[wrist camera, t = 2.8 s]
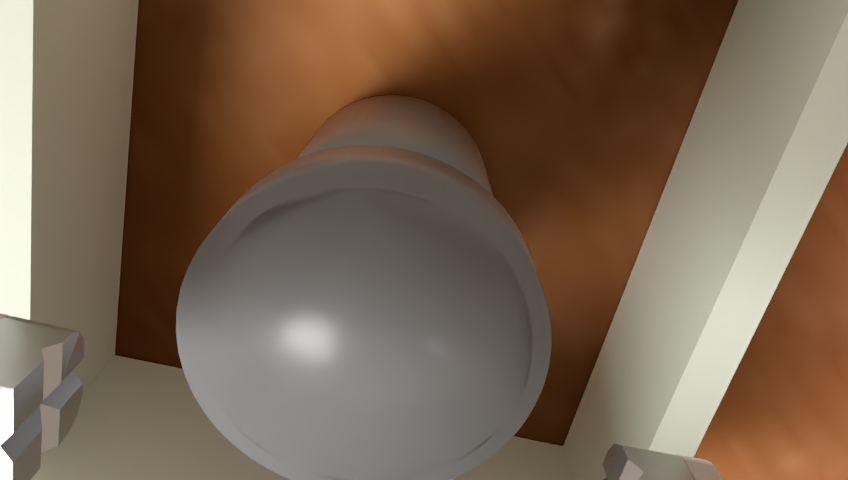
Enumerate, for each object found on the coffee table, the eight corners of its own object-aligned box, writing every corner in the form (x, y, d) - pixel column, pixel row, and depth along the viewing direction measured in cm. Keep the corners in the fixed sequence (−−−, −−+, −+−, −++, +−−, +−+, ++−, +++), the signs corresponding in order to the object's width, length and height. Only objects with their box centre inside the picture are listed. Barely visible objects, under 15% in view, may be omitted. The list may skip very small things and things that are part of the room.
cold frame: (103, -248, 16) (-496, -653, 6) (808, -57, 17) (1359, -103, 7) (76, 384, 22) (-215, 719, 12) (582, 485, 24) (691, 861, 14)
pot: (305, 56, 18) (195, 126, 10) (527, 110, 19) (604, 220, 10) (271, 261, 20) (161, 458, 12) (469, 304, 21) (494, 522, 13)
